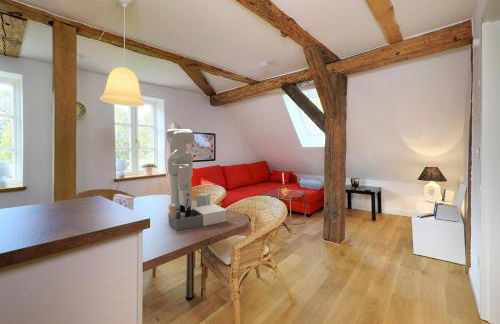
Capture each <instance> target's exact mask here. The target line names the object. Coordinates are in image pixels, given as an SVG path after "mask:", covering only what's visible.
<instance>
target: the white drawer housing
mask: <svg viewBox="0 0 500 324" xmlns="http://www.w3.org/2000/svg"><path fill="white" fill-rule="evenodd" d="M192 209H194V210H195V211H197V212H199V213H200V214H202V215H203V225H202V226H203V227H205V226H209V225H214V224H216V225H217V224H219V223H224V222H225V223H226V222H228V210H227V209H226V208H224V207H221V206H219V205H217V204H215V203H214V204H213V203H212V204H210V205H206V206H200V207H197V206H193V207H191V210H192Z"/></svg>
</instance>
